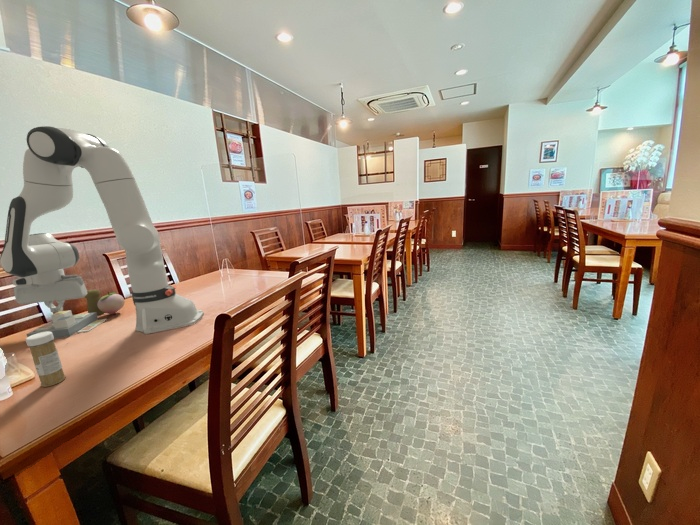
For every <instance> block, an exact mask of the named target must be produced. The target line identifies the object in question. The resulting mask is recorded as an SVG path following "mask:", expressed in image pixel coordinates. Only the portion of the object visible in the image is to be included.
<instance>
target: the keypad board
mask: <svg viewBox="0 0 700 525" xmlns="http://www.w3.org/2000/svg"><path fill="white" fill-rule="evenodd" d="M72 315H73V316H76V315H78V314H72ZM96 320H99V316H97V313H96V312H94V313H90V315H89V316H87V317H85V318H83V319H75V321H76V323H75V324H73V325H71V326H70V327H66V328H58V329H55V327H53V328H51V329H49V330H42V331H35V329H34V330H32V331H30V332H28V333H26V338H27V337H29V336H31V335H34V334H37V333H41V332H47V331H49V332H52V334H53V336H54V338H55V339H62V338H69V337H72V336H73V335H75V334H77V332H78V331H80V330H81V329H83V328H84V327H86V326H88V325H89V324H91V323H92V322H94V321H96ZM47 324H53V321H50V322H47V323H45V324H44V325H47ZM61 337H62V338H61Z"/></svg>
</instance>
